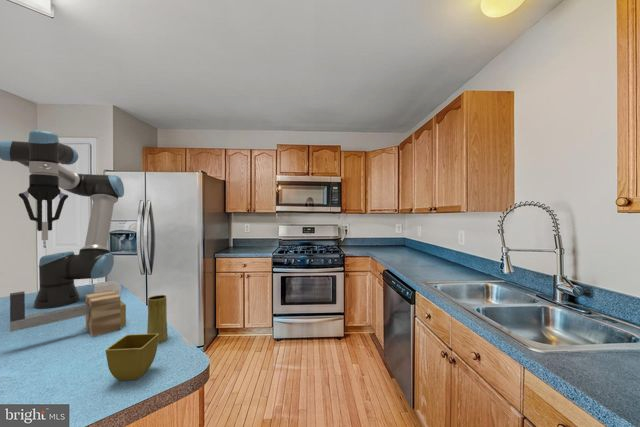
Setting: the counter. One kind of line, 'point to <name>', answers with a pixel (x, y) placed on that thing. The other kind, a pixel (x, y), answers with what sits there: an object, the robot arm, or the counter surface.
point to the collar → (123, 313)
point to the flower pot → (132, 356)
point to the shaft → (23, 322)
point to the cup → (108, 287)
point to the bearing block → (103, 312)
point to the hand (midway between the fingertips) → (44, 239)
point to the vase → (157, 317)
